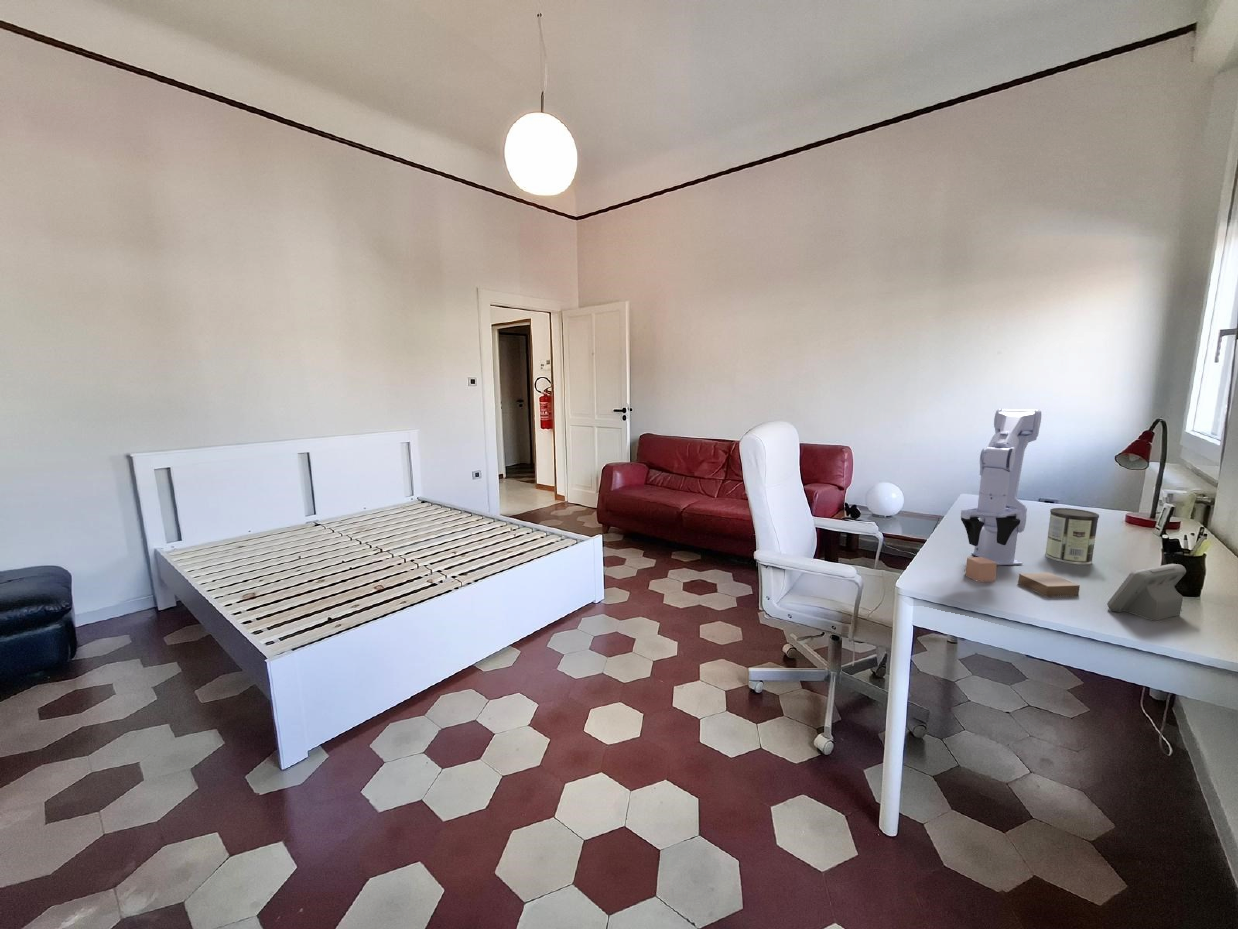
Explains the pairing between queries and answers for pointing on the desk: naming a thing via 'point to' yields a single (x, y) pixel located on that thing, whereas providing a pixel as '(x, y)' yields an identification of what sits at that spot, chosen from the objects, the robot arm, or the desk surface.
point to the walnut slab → (1049, 584)
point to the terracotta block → (981, 569)
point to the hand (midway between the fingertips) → (987, 544)
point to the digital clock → (1150, 592)
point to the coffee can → (1071, 535)
